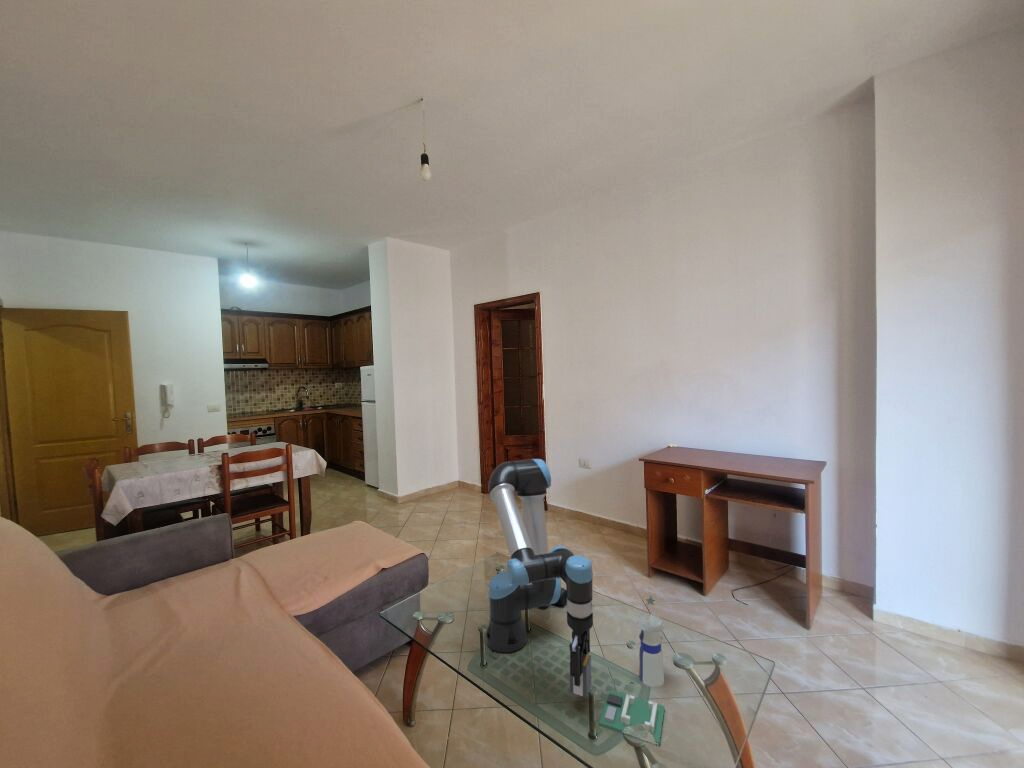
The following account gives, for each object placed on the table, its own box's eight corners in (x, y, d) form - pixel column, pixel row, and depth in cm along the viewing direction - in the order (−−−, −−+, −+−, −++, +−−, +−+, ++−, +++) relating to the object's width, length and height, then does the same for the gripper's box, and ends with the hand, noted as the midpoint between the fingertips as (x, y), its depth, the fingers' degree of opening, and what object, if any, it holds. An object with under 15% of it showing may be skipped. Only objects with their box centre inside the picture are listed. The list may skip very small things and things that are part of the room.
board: (599, 726, 116) (598, 715, 116) (609, 693, 128) (609, 683, 128) (659, 747, 109) (659, 735, 109) (664, 710, 121) (664, 699, 121)
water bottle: (633, 670, 138) (631, 595, 137) (658, 667, 138) (656, 593, 137) (642, 689, 129) (640, 610, 128) (669, 686, 130) (667, 608, 129)
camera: (555, 616, 169) (555, 592, 169) (534, 608, 175) (533, 585, 175) (574, 598, 182) (573, 575, 181) (553, 591, 188) (553, 569, 187)
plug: (570, 691, 122) (569, 660, 122) (575, 679, 127) (574, 649, 126) (586, 696, 120) (586, 665, 120) (591, 684, 125) (590, 654, 124)
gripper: (583, 633, 112) (585, 714, 114) (599, 597, 128) (600, 669, 130) (557, 626, 115) (559, 705, 117) (576, 592, 132) (577, 662, 133)
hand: (581, 686), depth 123 cm, fingers closed on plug, 5 cm apart
